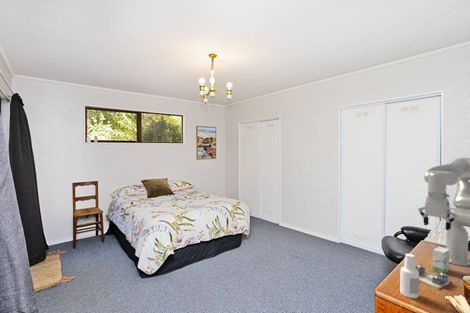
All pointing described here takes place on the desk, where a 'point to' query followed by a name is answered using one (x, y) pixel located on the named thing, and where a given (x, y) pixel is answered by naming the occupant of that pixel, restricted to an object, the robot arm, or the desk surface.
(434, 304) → the desk surface
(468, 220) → the robot arm
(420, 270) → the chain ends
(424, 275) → the jig board
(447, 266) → the ink box
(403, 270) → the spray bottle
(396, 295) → the desk surface
